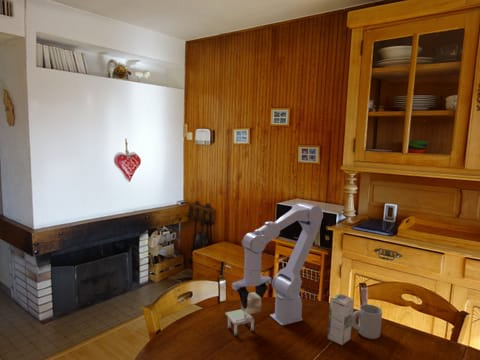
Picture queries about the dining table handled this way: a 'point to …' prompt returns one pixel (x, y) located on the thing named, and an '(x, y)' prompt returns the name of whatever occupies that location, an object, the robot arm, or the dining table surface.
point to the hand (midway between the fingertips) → (251, 305)
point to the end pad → (237, 315)
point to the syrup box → (340, 319)
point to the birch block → (253, 303)
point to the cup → (368, 321)
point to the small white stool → (241, 322)
